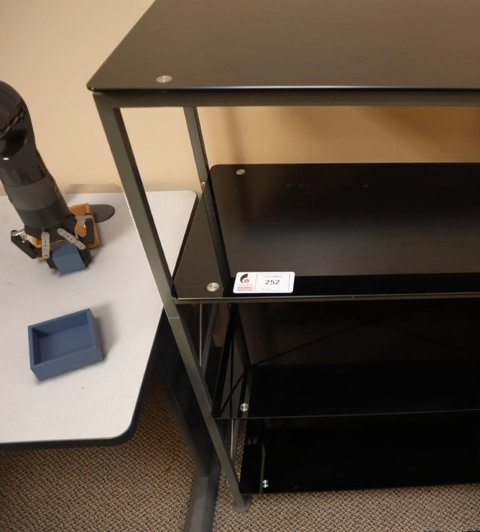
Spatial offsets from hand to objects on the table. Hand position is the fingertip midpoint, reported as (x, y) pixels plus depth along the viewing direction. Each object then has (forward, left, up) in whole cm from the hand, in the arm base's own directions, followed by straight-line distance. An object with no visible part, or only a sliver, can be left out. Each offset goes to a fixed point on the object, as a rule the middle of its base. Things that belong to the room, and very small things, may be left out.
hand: (72, 263), depth 102 cm
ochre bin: (-6, +7, 0) cm, 9 cm away
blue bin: (+11, -19, 0) cm, 22 cm away
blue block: (0, 0, 0) cm, 0 cm away
